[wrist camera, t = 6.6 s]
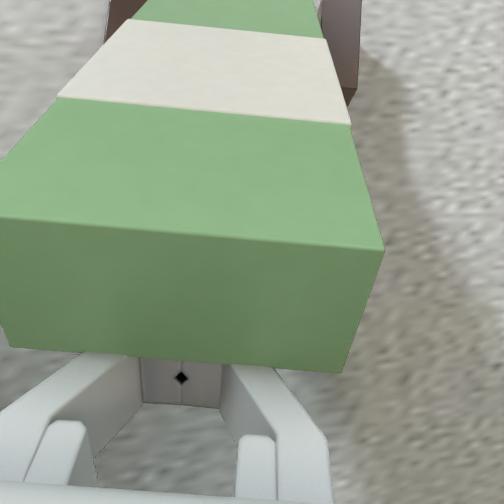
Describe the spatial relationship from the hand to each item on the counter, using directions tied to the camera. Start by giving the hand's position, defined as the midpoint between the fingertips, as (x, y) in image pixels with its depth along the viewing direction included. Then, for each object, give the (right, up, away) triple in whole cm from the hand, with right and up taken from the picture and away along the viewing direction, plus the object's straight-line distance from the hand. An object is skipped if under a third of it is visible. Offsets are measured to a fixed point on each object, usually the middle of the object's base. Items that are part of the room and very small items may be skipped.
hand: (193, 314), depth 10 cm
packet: (0, +5, +4) cm, 6 cm away
